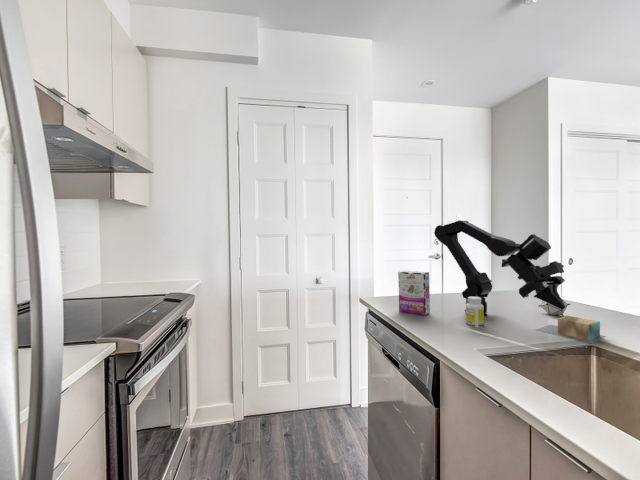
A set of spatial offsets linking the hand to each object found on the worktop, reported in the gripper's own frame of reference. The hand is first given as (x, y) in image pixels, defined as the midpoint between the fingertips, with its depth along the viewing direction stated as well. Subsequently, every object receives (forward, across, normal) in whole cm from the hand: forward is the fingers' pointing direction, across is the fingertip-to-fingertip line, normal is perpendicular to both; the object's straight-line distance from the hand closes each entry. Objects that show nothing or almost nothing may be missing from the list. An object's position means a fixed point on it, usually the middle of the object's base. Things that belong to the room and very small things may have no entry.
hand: (563, 308), depth 94 cm
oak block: (+3, 0, +4) cm, 5 cm away
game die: (-2, +20, +13) cm, 24 cm away
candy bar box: (-24, -18, +37) cm, 48 cm away
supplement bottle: (-8, -15, +20) cm, 26 cm away
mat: (+6, 0, +4) cm, 8 cm away
